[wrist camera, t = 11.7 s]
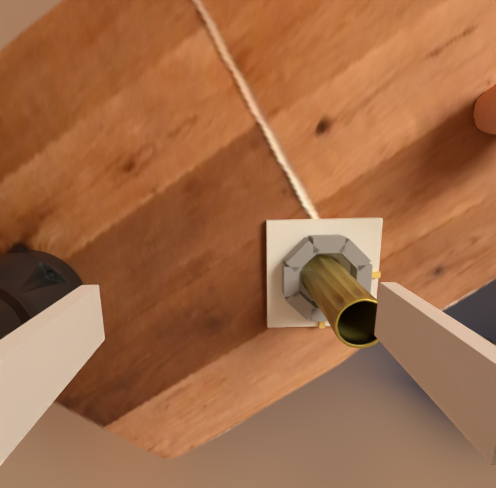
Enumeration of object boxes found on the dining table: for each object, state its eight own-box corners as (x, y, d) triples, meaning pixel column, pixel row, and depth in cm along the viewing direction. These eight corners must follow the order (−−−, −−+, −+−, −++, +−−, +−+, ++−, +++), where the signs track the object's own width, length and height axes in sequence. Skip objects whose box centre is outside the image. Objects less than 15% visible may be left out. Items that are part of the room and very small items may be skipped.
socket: (267, 324, 43) (268, 336, 40) (266, 220, 40) (268, 223, 36) (371, 321, 43) (382, 333, 40) (379, 217, 40) (392, 220, 37)
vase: (292, 276, 41) (316, 325, 27) (323, 246, 40) (365, 280, 26) (321, 303, 42) (359, 364, 28) (352, 274, 41) (408, 323, 27)
